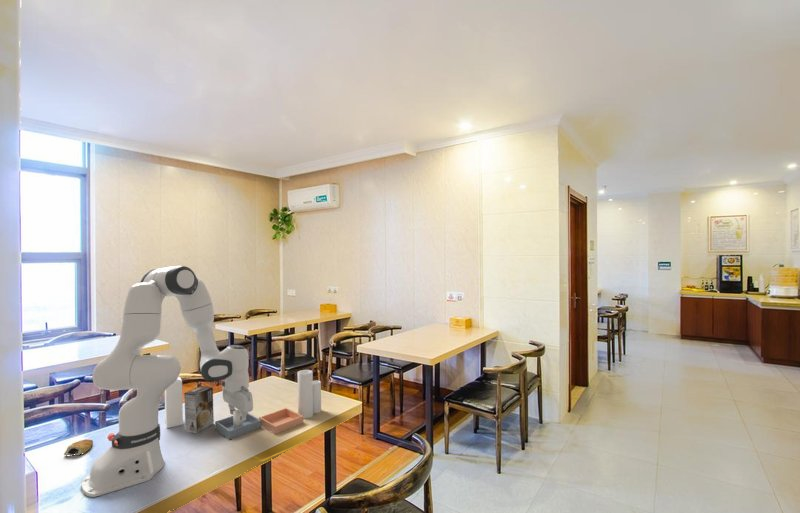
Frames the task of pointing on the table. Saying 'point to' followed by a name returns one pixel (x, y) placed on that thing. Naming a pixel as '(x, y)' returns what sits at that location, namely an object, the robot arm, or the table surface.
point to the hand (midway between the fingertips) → (238, 417)
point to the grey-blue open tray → (248, 425)
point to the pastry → (79, 447)
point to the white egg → (237, 419)
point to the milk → (174, 404)
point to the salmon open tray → (281, 420)
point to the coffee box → (198, 409)
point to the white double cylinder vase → (308, 394)
